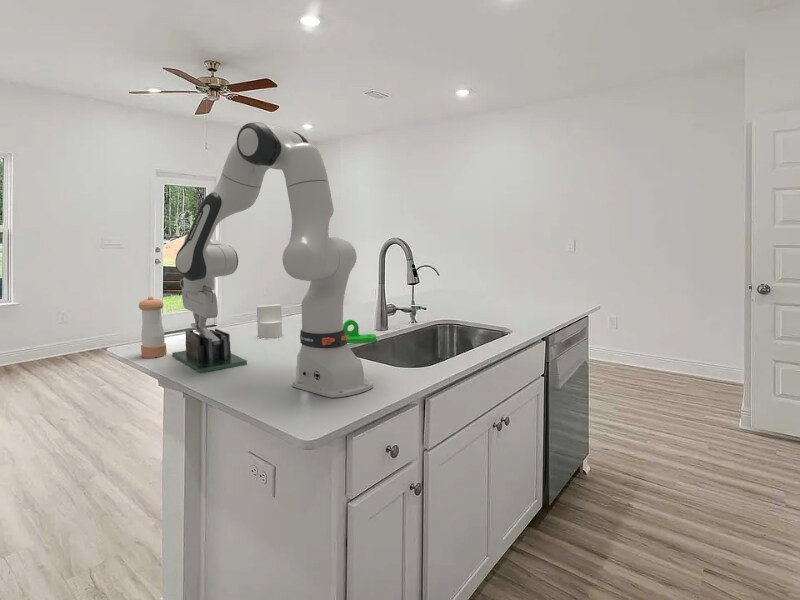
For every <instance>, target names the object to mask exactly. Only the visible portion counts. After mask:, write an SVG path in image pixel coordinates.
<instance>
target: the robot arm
mask: <svg viewBox="0 0 800 600" xmlns="http://www.w3.org/2000/svg"><path fill="white" fill-rule="evenodd" d="M269 169H272V170H278V171H279V170H280V171H282V172H283V175H284V179H285V180H284V181H285V187H286V190H287V197H288V203H289V208H290V213H291V214H290V215H291V231H290V238H289V241H288V244H287V245H286V247H285V248H284V250H283V254H282V260H281V261H282V265H283V268H284V270H285V272H286V273H287V274H288V275H289V276H290V277H291V278H292V279H294V280H295V279H296V280H299V281H306V282H310V284H309V287H308V289H307V292H306V294H305V295H304V297H303V298H302V300H301V301H302V302H301V329H300V334H299V340H300V344H301V347H300V350H299V352H298V353H297V357H296V367H295V369H296V370H295V371H296V372H295V379H294V380H293V381H292V382H291V383H292V384H291V386H292V387H293V388H296V389H299V390H303V391H306V392H309V393H313V394H316V395H320V396H323V397H327V398H331V399H332V398H334V399H335V398H342V397H348V396H353V395H356V394H357V395H358V394H361V393H363V392H366V391H369V390H371V389H372V388H373V387H374V384H373V382H371V381H370V380H368V379H367V378H365V375H364V366H363V363H362V360H361V359H360V358H358V357H357V356H356V354H355V353H354V352H353V351H352V349H350V347H349V346H348V345H349V344H347V340H348V339H349V338H346V337H348V336H349V335H346V334H345V330H344V329H343V324H344V300H345V292H346V288H347V285H348V280H349V278H350V274H351V271H352V270H353V269H354V267H355V265H356V264H357V252H356V249H355V246H353V244H352V243H351V242H349V241H347V240H345V239H343V238H339V237H335V236H333V237H331V236H329V230H330V229H329V228H330V227H329V226H330V220H331V218H332V217H333V214H334V213H335V212H334V211H335V209H334V204H333V197H332V194H331V188H330V182H329V178H328V173H327V169H326V167H325V163H324V161H323V158H322V154H321V153H320V150H319V149H318V148H317V147H316V146H315V145H314V144H312V143H310V142H309V141H308V140H307V138H305V137H304V135H302V134H300V133H299V132H296V131H292V130H289V129H286V128H283V127H281V126H278V125H274V124H268V123H263V122H258V121H257V122H249V123H246V124H244V125H242V126H241V128H240V129H239V130H238V133H237V136H236V142H234V143H233V144H232V146H231V149H230V151H229V153H228V154H227V156H226V159H225V161H224V165H223V169H222V171H221V176H220V178H219V180H218V181H217V184H216V185H215V187H214V188H213V190H212V191H211V192H210V193H209V194H207V195H206V196H205V197H204V199H203V200H202V202H201V204H200V207H199V209H198V211H197V213H196V216H195V217H194V220H193V221H192V225H191V227H190V230H189V232H188V234H186V236H185V237H184V241H183V244H182V245H181V247H180V249H179V250H178V251H177V253H176V256H175V262H174V263H175V267H176V270H177V271H178V273H179V274H180V275H181V276H182V277H183V278H182V279H180V281H179V286H180V288H181V296H182V304H183V307H184V310H185V309H186V310H187V311H189V312H191V313H192V316H193V320H194V323H195V326H197V327H199V328H201V329H202V328H205V327H206V328H207V325H206V323H207V320H208V319H215V318H217V317H218V314H219V309H218V299H217V298H218V297H217V295H216V293H215V292H214V290H215V288H216V287H215V278H217V277H227V276H230V275H233V274H234V273H235V272H236V270H237V269H238V265H239V256H238V254H237V251H236V250H235V248H234V247H232V246H231V245H227V244H225V243H223V242H221V241H219V240H217V239H216V238H215V237H214V232H215V230H216V227H217V226H218V225H219V224H220V223H221V222H222V221H223V220H225V219H226V218H227V217H229V216H233V215H235V214H237V213H240V212H244V211H245V210H249V208H251V207H253V206H254V204H255V202H256V201H257V199H258V197H259V196H260V192H261V187H262V184H263V181H264V179H265V178H264V177H265V174H266V172H267V171H269Z"/></svg>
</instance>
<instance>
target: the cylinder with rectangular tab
mask: <svg viewBox="0 0 800 600" xmlns="http://www.w3.org/2000/svg"><path fill="white" fill-rule="evenodd" d="M256 317H257V319H256V320H257V321H256V324H257V326H256V327H257V338H258V337H259V339H261V338H274V339H278V338H277V337H279V338H281V336H283V321H282V319H283V318H282V304H279V303H277V304H275V303H274V304H263V305H262V304H261V305H256Z"/></svg>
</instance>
